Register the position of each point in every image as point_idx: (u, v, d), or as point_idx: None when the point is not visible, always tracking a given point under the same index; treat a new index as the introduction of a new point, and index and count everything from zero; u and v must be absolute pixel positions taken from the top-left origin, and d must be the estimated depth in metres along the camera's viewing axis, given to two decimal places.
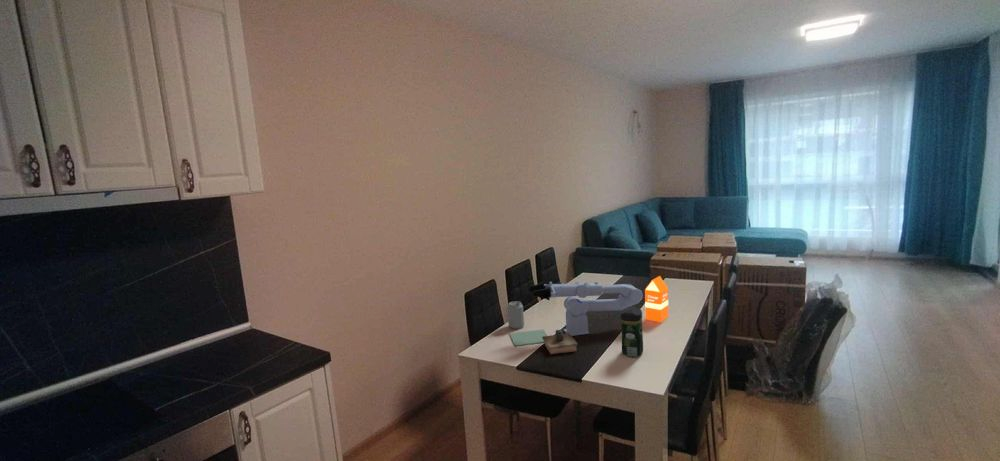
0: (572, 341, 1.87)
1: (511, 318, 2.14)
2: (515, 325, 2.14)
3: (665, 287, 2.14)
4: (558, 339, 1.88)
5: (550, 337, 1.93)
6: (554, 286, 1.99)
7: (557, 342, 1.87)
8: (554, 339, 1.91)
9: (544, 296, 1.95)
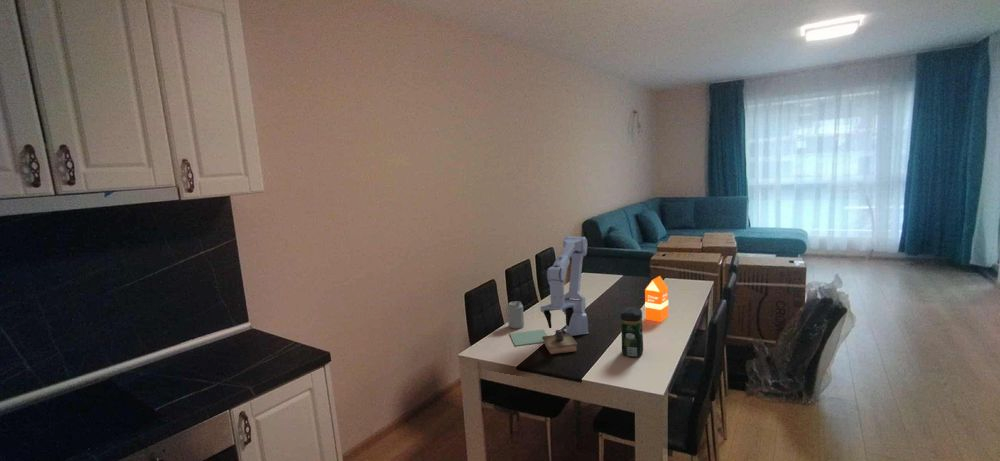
0: (572, 341, 1.87)
1: (511, 318, 2.14)
2: (515, 325, 2.14)
3: (665, 287, 2.14)
4: (558, 339, 1.88)
5: (550, 337, 1.93)
6: (562, 304, 1.85)
7: (557, 342, 1.87)
8: (554, 339, 1.91)
9: None
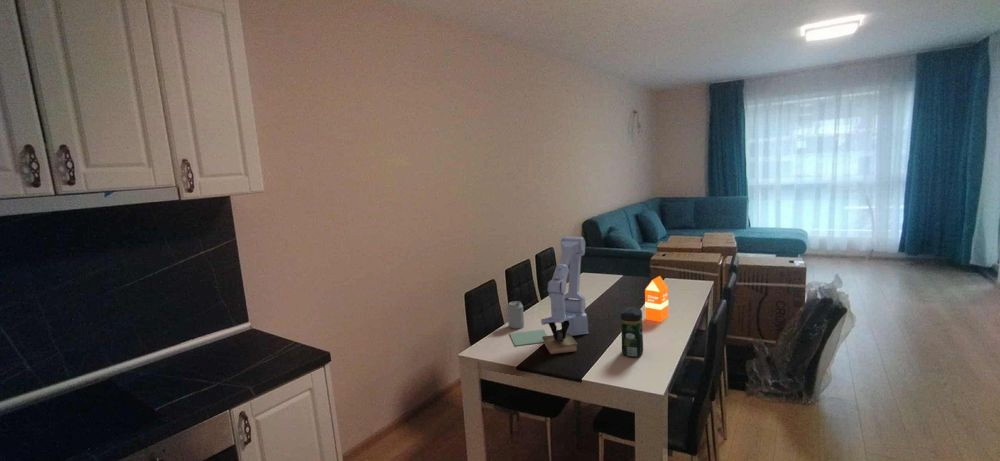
0: (572, 341, 1.87)
1: (511, 318, 2.14)
2: (515, 325, 2.14)
3: (665, 287, 2.14)
4: (558, 339, 1.88)
5: (550, 337, 1.93)
6: (563, 317, 1.86)
7: (557, 342, 1.87)
8: (554, 339, 1.91)
9: None
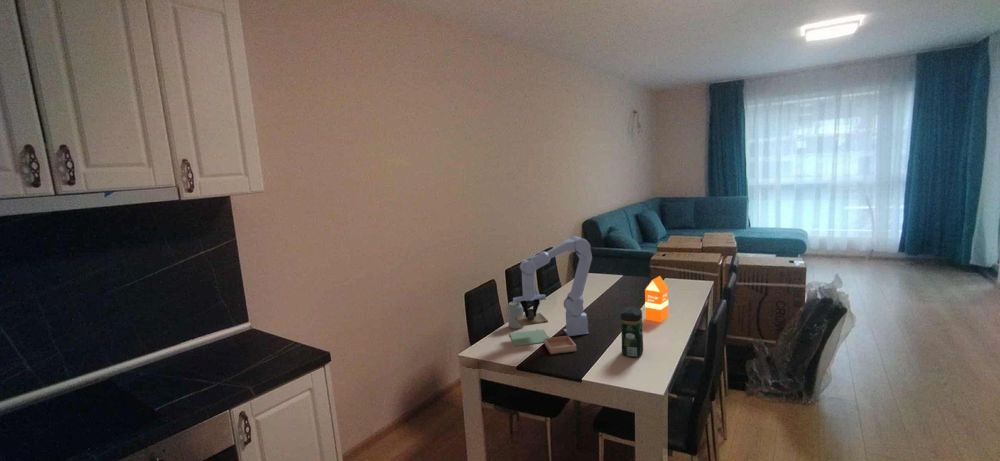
0: (543, 319, 1.97)
1: (511, 318, 2.14)
2: (515, 325, 2.14)
3: (665, 287, 2.14)
4: (529, 317, 1.98)
5: (522, 316, 2.03)
6: (534, 295, 1.96)
7: (528, 320, 1.97)
8: (526, 318, 2.01)
9: None
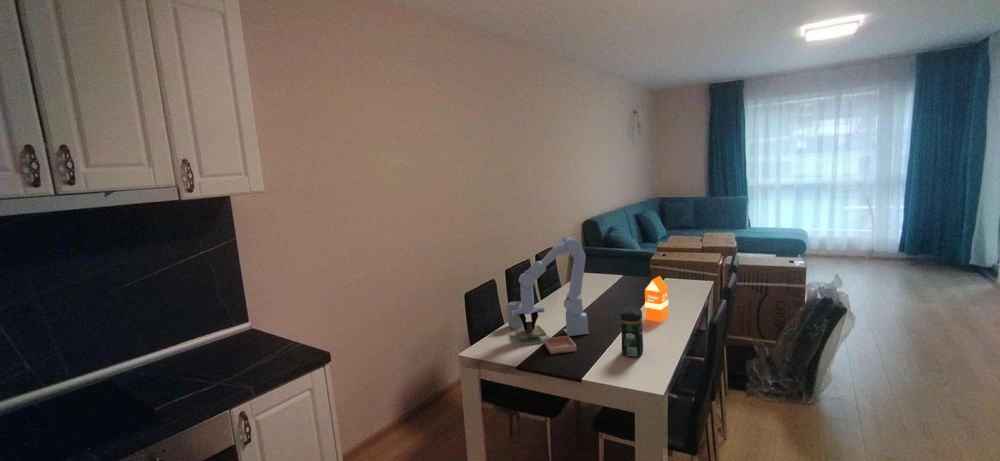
0: (541, 332, 1.99)
1: (511, 318, 2.14)
2: (515, 325, 2.14)
3: (665, 287, 2.14)
4: (528, 330, 2.00)
5: (521, 329, 2.05)
6: (532, 308, 1.98)
7: (527, 333, 1.99)
8: (524, 330, 2.03)
9: None
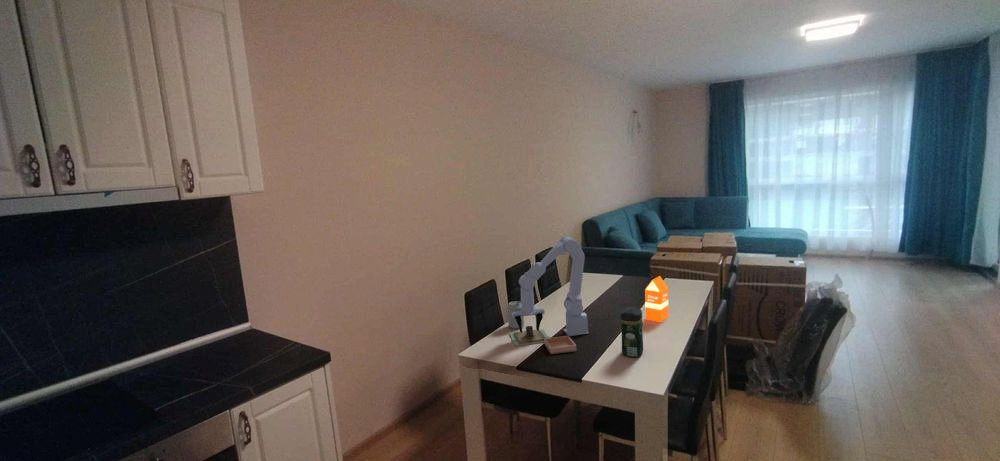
0: (541, 336, 2.00)
1: (511, 318, 2.14)
2: (515, 325, 2.14)
3: (665, 287, 2.14)
4: (528, 335, 2.01)
5: (521, 333, 2.05)
6: (532, 310, 1.98)
7: (527, 337, 2.00)
8: (525, 335, 2.03)
9: None
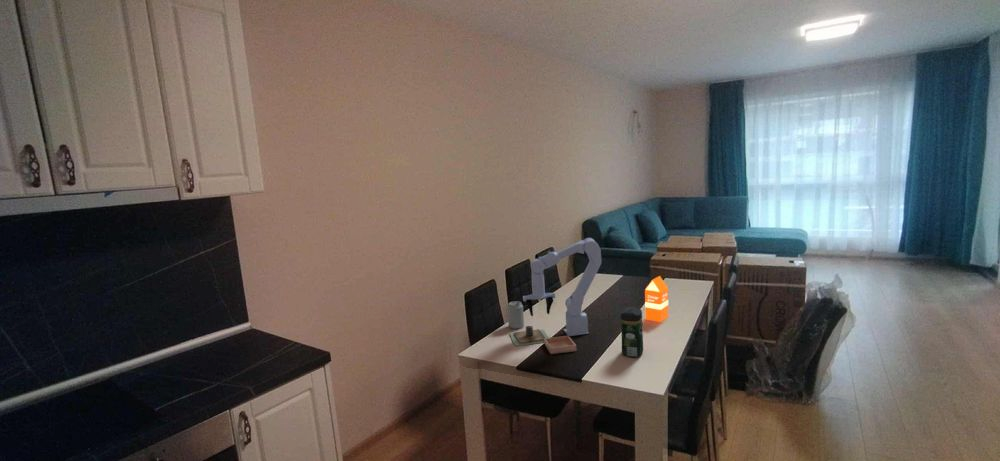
0: (541, 336, 2.00)
1: (511, 318, 2.14)
2: (515, 325, 2.14)
3: (665, 287, 2.14)
4: (528, 335, 2.01)
5: (521, 333, 2.05)
6: (543, 293, 2.01)
7: (527, 337, 2.00)
8: (525, 335, 2.03)
9: None
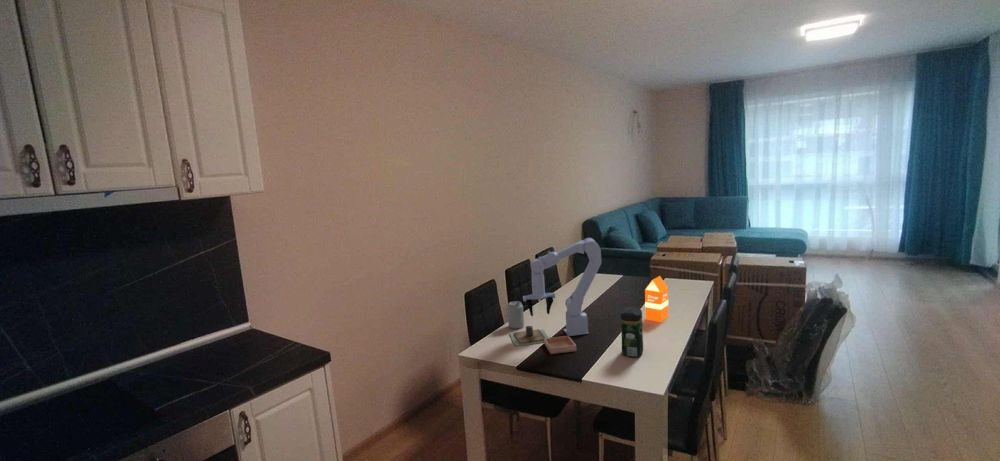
0: (541, 336, 2.00)
1: (511, 318, 2.14)
2: (515, 325, 2.14)
3: (665, 287, 2.14)
4: (528, 335, 2.01)
5: (521, 333, 2.05)
6: (543, 293, 2.01)
7: (527, 337, 2.00)
8: (525, 335, 2.03)
9: None
